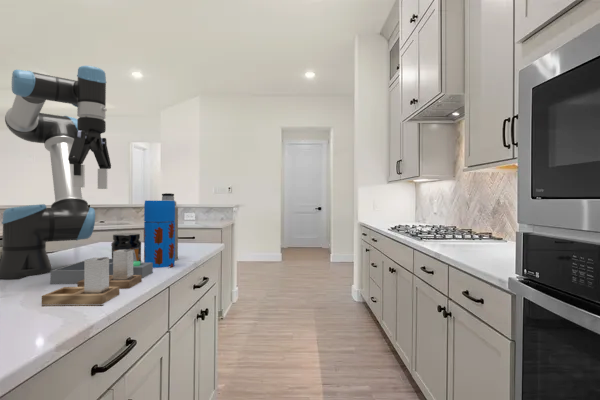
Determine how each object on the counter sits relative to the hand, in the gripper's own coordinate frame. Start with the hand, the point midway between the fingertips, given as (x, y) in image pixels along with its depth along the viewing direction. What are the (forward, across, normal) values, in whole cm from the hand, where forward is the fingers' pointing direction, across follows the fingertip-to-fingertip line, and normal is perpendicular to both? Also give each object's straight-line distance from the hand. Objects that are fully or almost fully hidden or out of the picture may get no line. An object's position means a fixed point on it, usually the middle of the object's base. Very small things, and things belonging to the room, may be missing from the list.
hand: (91, 188), depth 113 cm
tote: (+29, +6, +3) cm, 29 cm away
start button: (+27, +7, -10) cm, 29 cm away
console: (+29, +7, -10) cm, 31 cm away
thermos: (+29, +26, -12) cm, 41 cm away
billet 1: (+28, -22, -12) cm, 38 cm away
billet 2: (+28, -6, -12) cm, 32 cm away
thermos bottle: (+29, +42, -10) cm, 52 cm away
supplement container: (+29, +30, +2) cm, 42 cm away
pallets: (+29, -14, -9) cm, 33 cm away
